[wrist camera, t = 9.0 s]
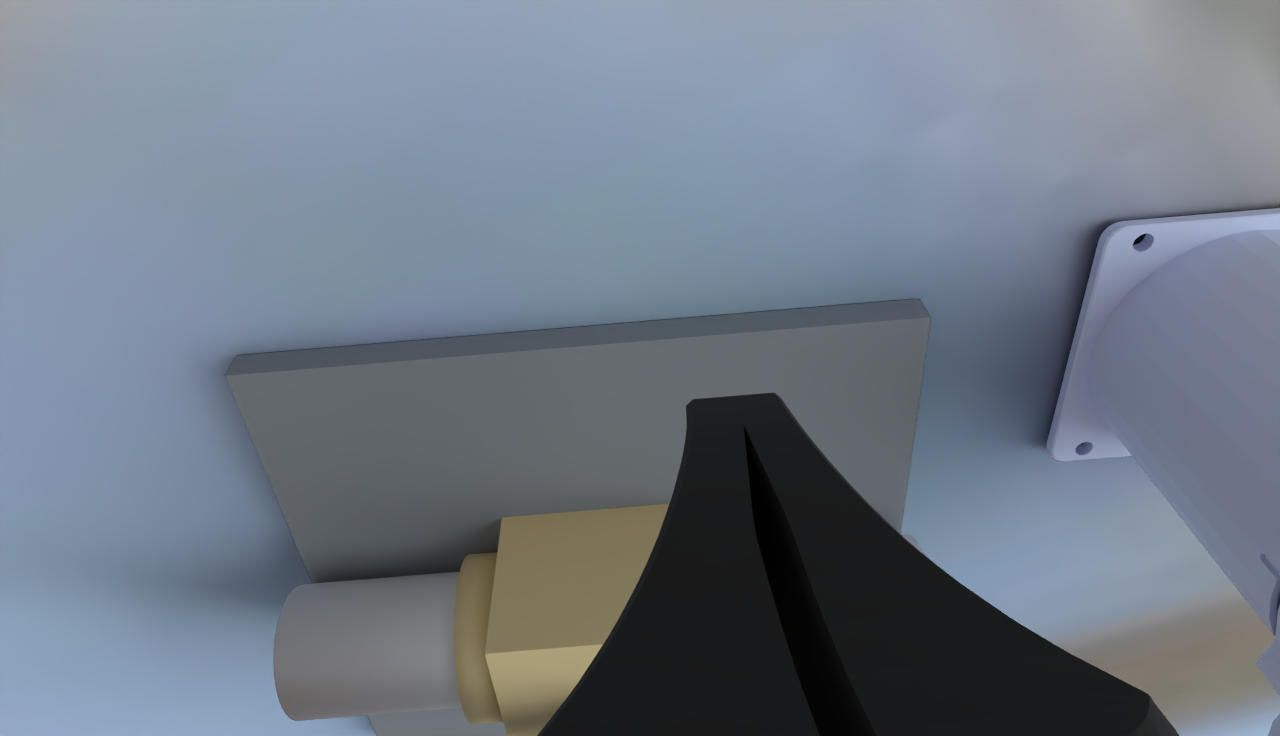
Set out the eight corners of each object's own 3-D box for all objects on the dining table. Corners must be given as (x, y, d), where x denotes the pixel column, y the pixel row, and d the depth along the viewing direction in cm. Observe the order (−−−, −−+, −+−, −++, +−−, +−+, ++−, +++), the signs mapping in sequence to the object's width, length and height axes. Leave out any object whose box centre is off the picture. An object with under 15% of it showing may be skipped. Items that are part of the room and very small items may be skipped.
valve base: (919, 298, 24) (1022, 464, 18) (867, 693, 34) (923, 879, 28) (237, 355, 24) (123, 539, 18) (389, 731, 34) (347, 925, 28)
